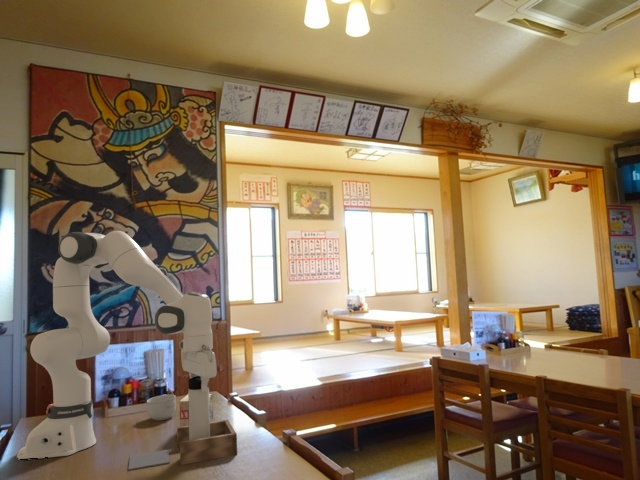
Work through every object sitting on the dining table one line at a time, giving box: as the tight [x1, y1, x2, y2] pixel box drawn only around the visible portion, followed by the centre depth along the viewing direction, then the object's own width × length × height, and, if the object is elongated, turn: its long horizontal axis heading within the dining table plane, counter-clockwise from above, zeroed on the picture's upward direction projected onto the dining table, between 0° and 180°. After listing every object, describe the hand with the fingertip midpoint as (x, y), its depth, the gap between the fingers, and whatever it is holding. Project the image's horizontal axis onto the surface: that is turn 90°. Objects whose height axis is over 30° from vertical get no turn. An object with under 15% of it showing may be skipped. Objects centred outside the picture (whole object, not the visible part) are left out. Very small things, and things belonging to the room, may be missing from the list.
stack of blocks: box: [179, 393, 214, 427], centre depth 167 cm, size 21×6×12 cm, turn 0°
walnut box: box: [176, 419, 238, 466], centre depth 142 cm, size 16×16×6 cm
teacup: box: [146, 394, 177, 422], centre depth 182 cm, size 14×11×8 cm
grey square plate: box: [128, 449, 170, 471], centre depth 136 cm, size 11×11×1 cm
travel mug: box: [187, 375, 211, 440], centre depth 142 cm, size 6×7×20 cm
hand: (199, 388), depth 143 cm, fingers closed on travel mug, 6 cm apart
